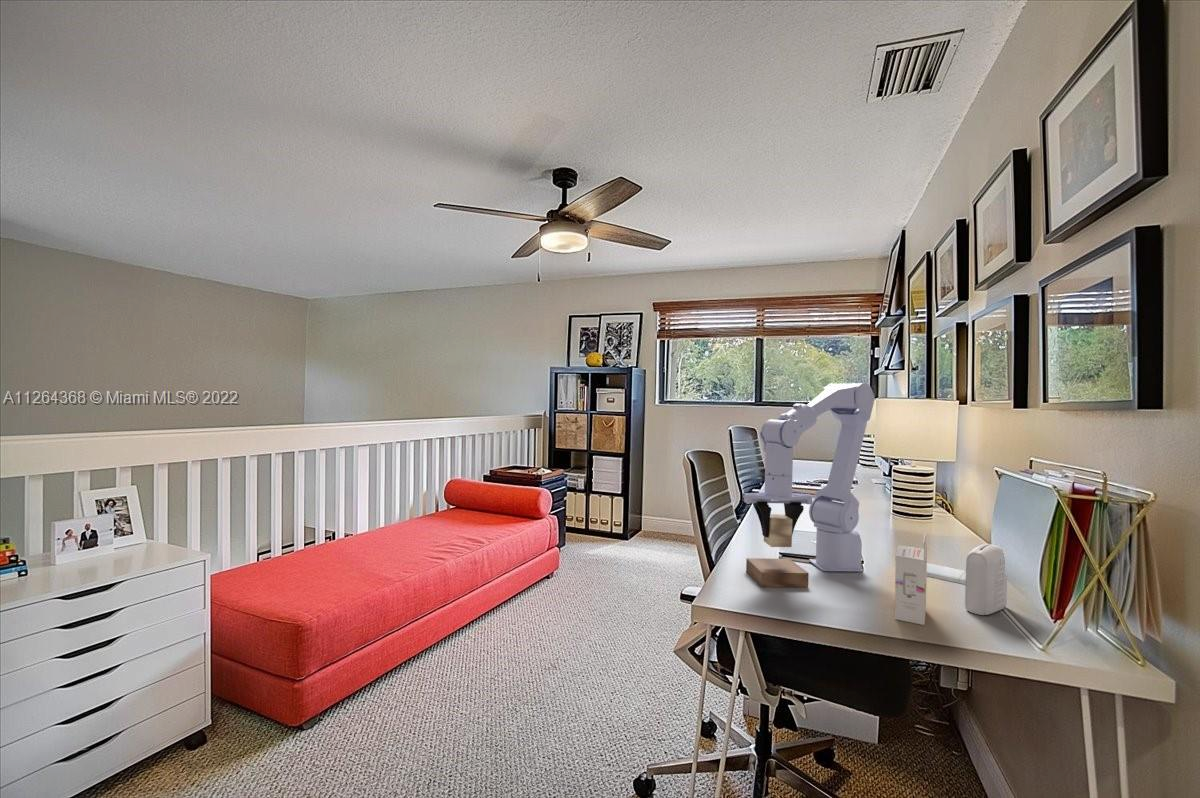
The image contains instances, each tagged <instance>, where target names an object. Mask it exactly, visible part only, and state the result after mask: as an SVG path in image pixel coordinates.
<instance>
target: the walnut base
mask: <svg viewBox="0 0 1200 798" xmlns="http://www.w3.org/2000/svg"><path fill="white" fill-rule="evenodd" d="M745 562H746V563H745V564H746V565H745V570H746V573H747V574H748V575H749V576H750V577H751V578H752V579H753V580H754V581H755V582H756V583H757V584H758V586H760V587H761V588H809V577H810V576H809V574H810V573H809V572H808V571H806V570H805V569H804V568H802V566H800V565H799V564H797V563H796V562H795V561H793V560H792V559H791V558H765V557H764V558H755V557H753V558H749V557H747V558H746V560H745Z"/></svg>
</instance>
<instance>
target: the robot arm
mask: <svg viewBox="0 0 1200 798" xmlns="http://www.w3.org/2000/svg"><path fill="white" fill-rule="evenodd" d="M875 399H876V397H875V394H874V392H873V388H872V387H871V386H870V385H869V383H867V382H860V383H834V382H833V383H832V382H831V383H829V384H827V385H825V386H824V387H823V388H822V391H821V393H820V394H818V395H817V396H816V397H815V398H813V399H812V400H811V401H809V403H807V404H805V403H794V404H793V405H792V408H791V409H790V410H788V411H787V412H785V413H781V414H780V415H779V417H777V419H775V418H773V419H772V418H771V419H768V420H767V421H766V422H764V424H763V425H762V427H761V430H760V431H759V438H760V440H761V442H762V445H763V448H762V449H763V452H764V453H765V460H764V464H765V465H764V491H763V492H744V493H743V494H744V495H743V497H744V498H743V502H744V503H745V504H752V505H753V508H754V510H755V512H756V514H757V517H758V520H759V523H760V527H761V528H760V529H761V535H762V536H763V537H764V536H765V537H769V521H770V514H772V507H771V506H770V505H769V504H783V507H784V515H786V516H788V517H789V518H791V519H792V536H793V534H794V530H795V527H796V525H797V522H798V520H799V518H800V516H801V515H802V513H804V512H803V511H804V509H805V507H804V505H809V508H808V515H809V518H810V520H811V522H812V523H813V527H814V528H816V535H815V536H816V541H815V545H816V546H815V558H809V559H808V561H809V562H810V563H811V564H813V565H814V566H816V567H817V568H818V569H820V570H821V571H823V572H863V571H864V569H863V568H862V554H863V553H862V550H863V549H862V547H863V546H862V537H861V535H860V533H859V532H858V531H857V530H855V528H856V527H857V526H858V524H859V520H860V516H859V507H860V501H859V500H858V498H856V496H855V495H854V494H853V493H852V492H851V491H852V487H853V484H854V483H853V482H854V478H855V474H856V470H857V466H858V462H859V457H860V453H861V449H862V445H863V441H864V437H865V433H866V429H867V426H868V422H869V421H870V420H871V416H872V411H873V408H874V405H875ZM828 411H830V412H831V414H832V415H833V417H834V418H835V419H836V420H838V421H839V422H840V423H841V427H840V431H839V434H838V435H839V436H838V440H837V443H836V447H835V452H834V456H833V460H832V463H831V468H830V472H829V476H828V480H827V484H826V486H824V487H822V488H820V489H818V490H817V491H816V492H815V495H814V498H813V495H811V494H809V493H793V471H794V470H793V468H794V467H793V466H794V465H793V464H794V461H793V460H794V458H793V457H794V446H797V444H798V443H799V441H800V438H801V436H802V435H803V434H804V433H805V432H806V431H808V430H809V429H811V428H812V427H813V426H815V425H816V424H817V420H818V417H820V416H821V415H822V414H824V413H826V412H828ZM802 504H803V505H802Z"/></svg>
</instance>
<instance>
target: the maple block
mask: <svg viewBox="0 0 1200 798" xmlns="http://www.w3.org/2000/svg"><path fill="white" fill-rule="evenodd" d="M763 542H764V543H765V544H767V546H769V547H771V548H792V546H793V545H792V544H793V543H792V542H793V535H792V519H791V518H789V517H788V516H786V515H785V513H784V514H781V513H780V514H778V513H777V514H776V513H775V514H773V513H771V514H770V521H769V537H765V536H763Z"/></svg>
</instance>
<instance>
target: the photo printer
mask: <svg viewBox="0 0 1200 798" xmlns="http://www.w3.org/2000/svg"><path fill="white" fill-rule="evenodd" d="M1002 548H1003V547H1001V546H999V545H997V544H992V543H983V544H980V545H978V546H975V547H974V548H973V549H972V550H970V551H969V552H968V554H967V555H966V559H965V561H966V562H965V571H966V584H964V587H965V588H964V608H965V609H966V610H967V611H968V612H970V613H972V614H974V615H979V616H988V615H991V614H994V613H996V612H998V611H999V612H1000V611H1002V610H1003V609H1005V608H1006V607H1007V604H1008V577H1007V578H1006V574H1005V557H1004V553H1003V550H1002ZM1004 607H1005V608H1004Z"/></svg>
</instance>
